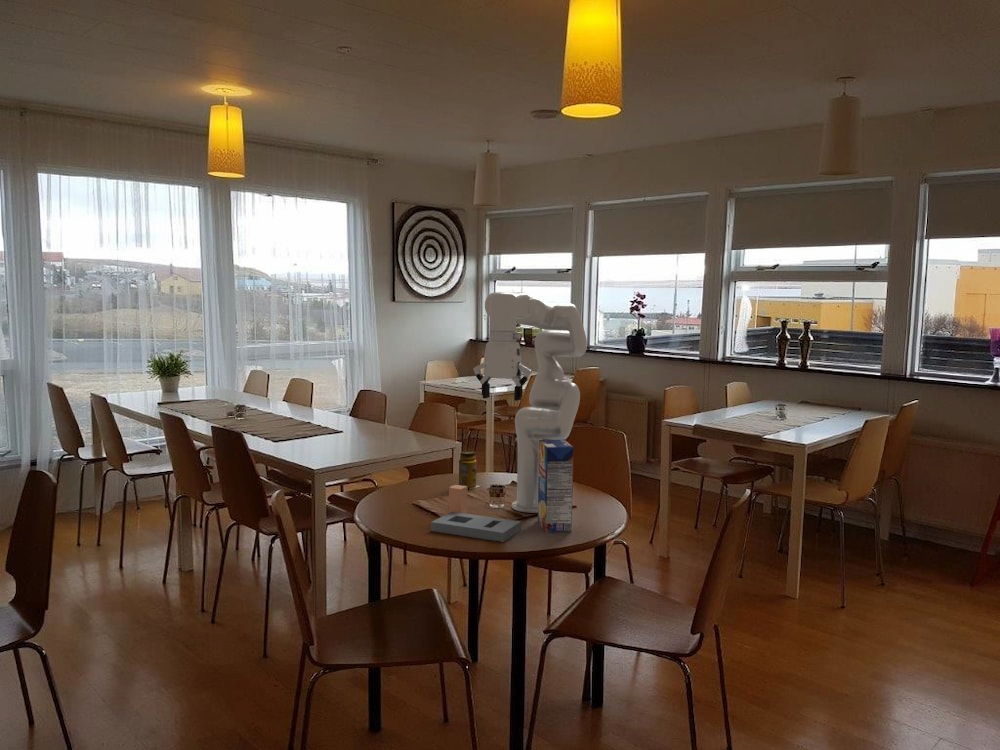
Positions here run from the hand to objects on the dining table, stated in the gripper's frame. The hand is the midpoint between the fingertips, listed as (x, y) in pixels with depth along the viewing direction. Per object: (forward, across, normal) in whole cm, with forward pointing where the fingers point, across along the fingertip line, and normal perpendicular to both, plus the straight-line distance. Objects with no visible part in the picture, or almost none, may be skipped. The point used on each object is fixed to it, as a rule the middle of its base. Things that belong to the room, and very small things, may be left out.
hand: (501, 399), depth 212 cm
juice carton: (+37, -13, -9) cm, 40 cm away
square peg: (+37, +16, -5) cm, 40 cm away
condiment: (+37, +31, -39) cm, 62 cm away
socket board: (+37, +5, +5) cm, 37 cm away
